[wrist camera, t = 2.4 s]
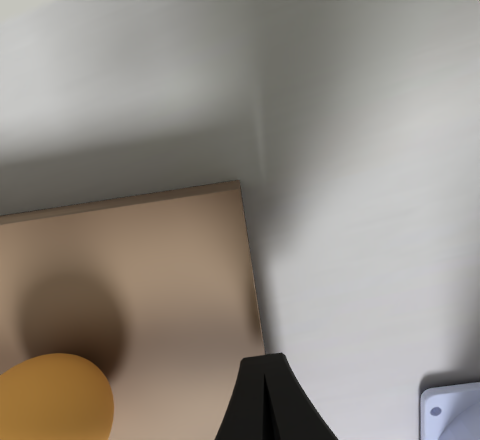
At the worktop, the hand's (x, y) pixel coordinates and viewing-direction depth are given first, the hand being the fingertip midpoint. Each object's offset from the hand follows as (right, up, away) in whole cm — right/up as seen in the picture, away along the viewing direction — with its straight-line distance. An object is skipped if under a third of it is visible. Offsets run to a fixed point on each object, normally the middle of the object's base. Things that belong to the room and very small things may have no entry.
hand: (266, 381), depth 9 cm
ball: (-7, -1, 0) cm, 7 cm away
